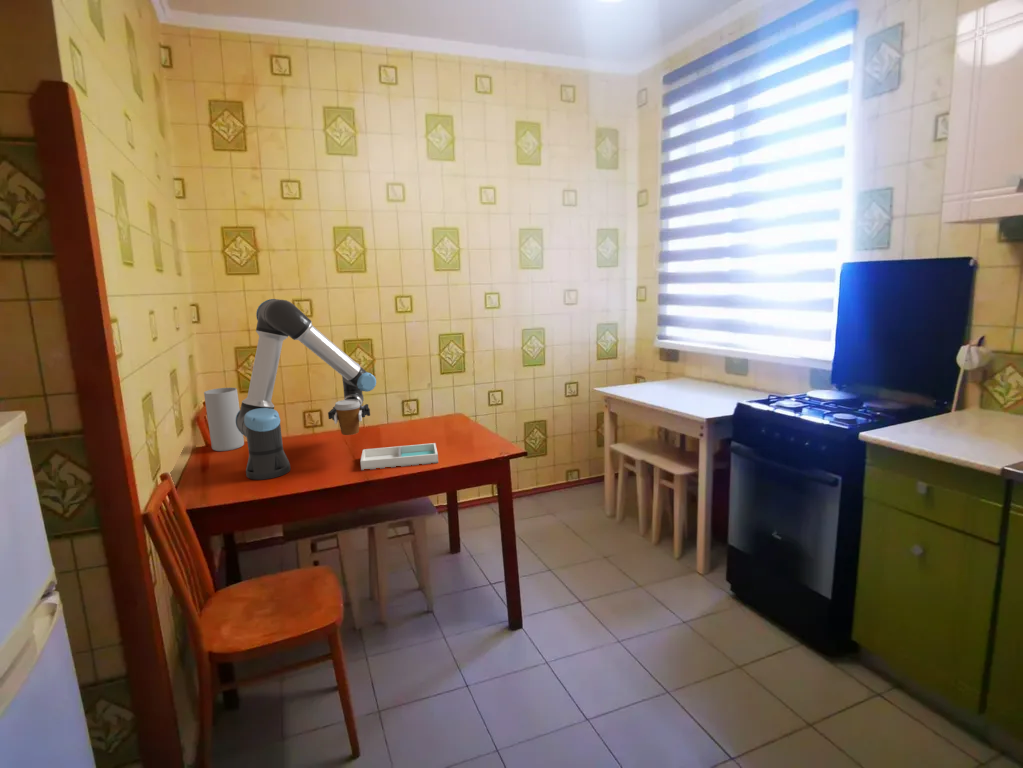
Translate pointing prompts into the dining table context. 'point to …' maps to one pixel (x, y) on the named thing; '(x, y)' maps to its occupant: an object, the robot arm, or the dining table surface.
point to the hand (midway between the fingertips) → (347, 419)
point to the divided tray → (399, 456)
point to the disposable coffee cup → (348, 416)
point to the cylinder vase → (223, 418)
